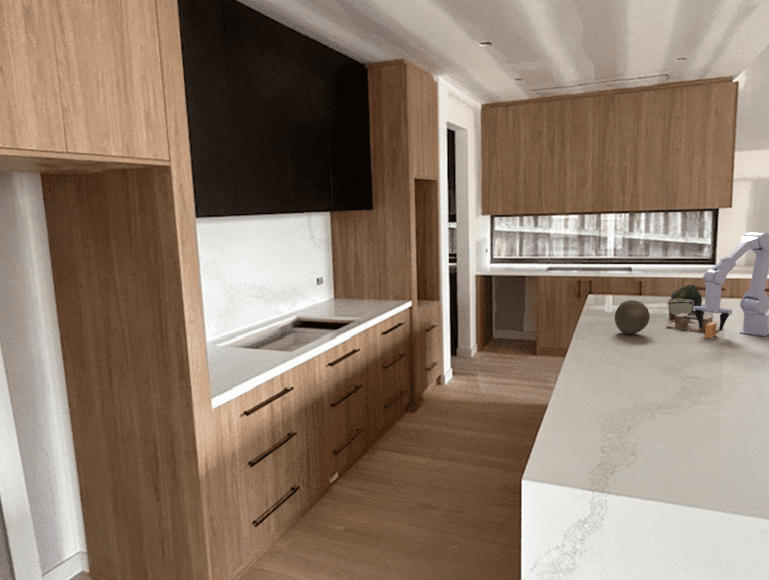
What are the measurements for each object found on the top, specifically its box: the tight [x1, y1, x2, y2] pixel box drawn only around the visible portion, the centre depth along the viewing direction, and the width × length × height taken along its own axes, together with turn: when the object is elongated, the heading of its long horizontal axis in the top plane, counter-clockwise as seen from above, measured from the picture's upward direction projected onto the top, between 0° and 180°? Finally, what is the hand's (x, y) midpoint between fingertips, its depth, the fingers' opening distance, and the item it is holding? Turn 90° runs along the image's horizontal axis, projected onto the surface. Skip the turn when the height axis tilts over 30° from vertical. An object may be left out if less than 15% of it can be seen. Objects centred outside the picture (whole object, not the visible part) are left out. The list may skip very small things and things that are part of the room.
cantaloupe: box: [614, 299, 651, 335], centre depth 245 cm, size 14×14×15 cm
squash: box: [670, 284, 703, 312], centre depth 297 cm, size 14×15×15 cm
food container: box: [666, 298, 694, 321], centre depth 276 cm, size 12×6×10 cm, turn 84°
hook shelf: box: [664, 313, 720, 334], centre depth 255 cm, size 20×13×6 cm, turn 46°
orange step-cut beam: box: [704, 321, 717, 339], centre depth 239 cm, size 2×7×6 cm, turn 136°
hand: (710, 329), depth 239 cm, fingers open, 7 cm apart
